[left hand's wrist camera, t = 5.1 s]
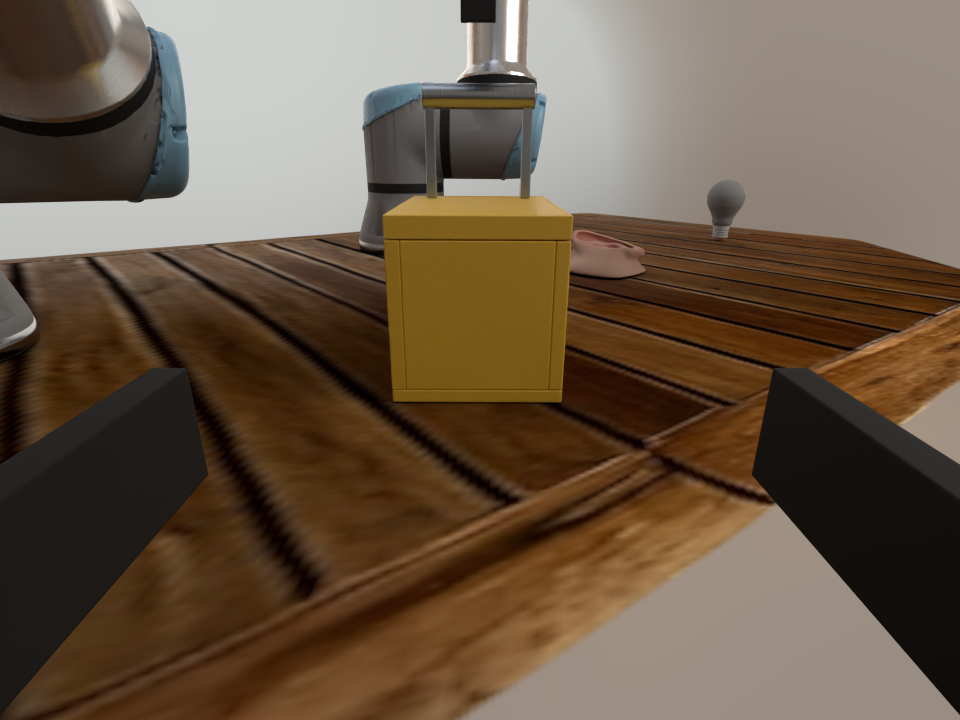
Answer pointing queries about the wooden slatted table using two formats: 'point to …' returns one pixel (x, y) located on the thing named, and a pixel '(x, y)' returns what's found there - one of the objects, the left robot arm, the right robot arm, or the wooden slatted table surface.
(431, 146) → the lid
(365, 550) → the wooden slatted table surface
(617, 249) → the anatomical model
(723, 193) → the light bulb
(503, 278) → the chest
